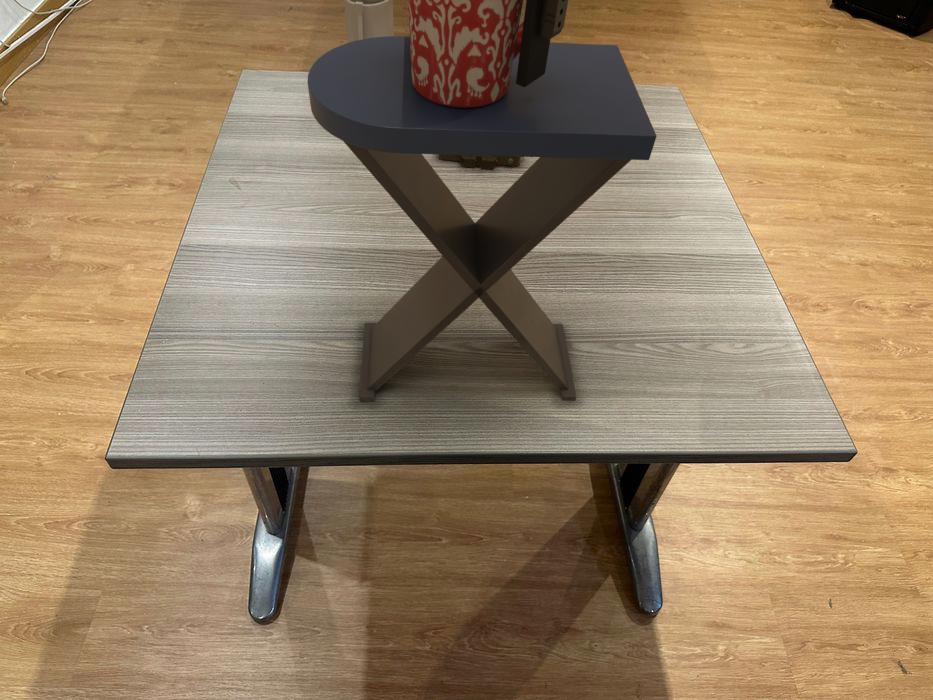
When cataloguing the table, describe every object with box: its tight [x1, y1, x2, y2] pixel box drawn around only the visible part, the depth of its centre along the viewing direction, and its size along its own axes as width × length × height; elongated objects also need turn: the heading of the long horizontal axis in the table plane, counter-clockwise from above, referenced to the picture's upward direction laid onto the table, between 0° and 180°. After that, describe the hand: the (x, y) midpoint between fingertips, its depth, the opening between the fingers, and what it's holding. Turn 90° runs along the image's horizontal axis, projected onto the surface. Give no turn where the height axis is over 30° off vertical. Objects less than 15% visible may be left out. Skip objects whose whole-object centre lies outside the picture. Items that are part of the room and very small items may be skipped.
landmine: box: [438, 154, 522, 170], centre depth 104 cm, size 14×3×15 cm
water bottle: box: [343, 0, 395, 43], centre depth 98 cm, size 9×8×25 cm
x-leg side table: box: [307, 35, 658, 402], centre depth 62 cm, size 26×14×34 cm, turn 93°
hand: (476, 56), depth 48 cm, fingers closed on mug, 9 cm apart
